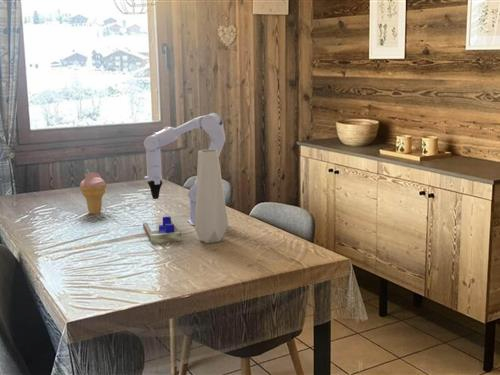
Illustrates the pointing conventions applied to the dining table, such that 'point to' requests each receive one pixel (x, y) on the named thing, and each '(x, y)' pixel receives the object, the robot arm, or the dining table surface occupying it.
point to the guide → (162, 235)
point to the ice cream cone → (93, 191)
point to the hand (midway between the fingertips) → (155, 198)
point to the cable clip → (166, 226)
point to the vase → (210, 198)
